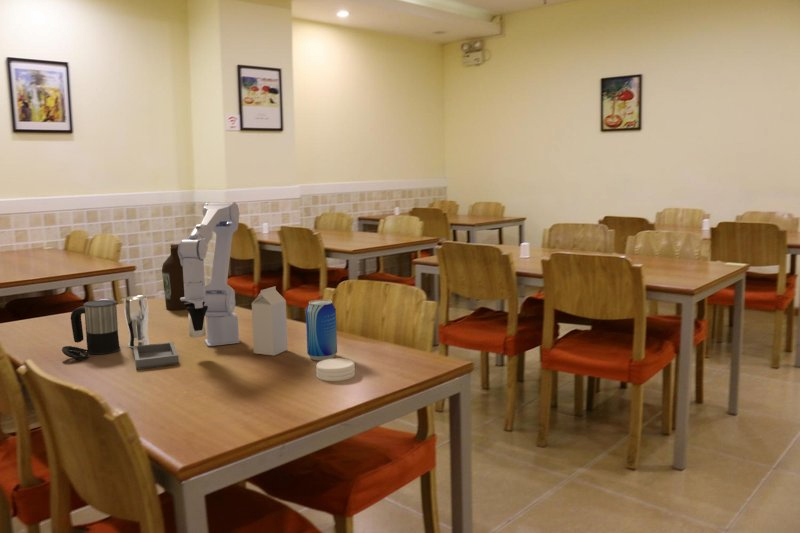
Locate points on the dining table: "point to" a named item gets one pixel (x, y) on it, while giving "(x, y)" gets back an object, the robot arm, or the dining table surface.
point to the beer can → (321, 330)
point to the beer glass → (137, 319)
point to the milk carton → (269, 323)
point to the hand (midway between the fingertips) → (197, 328)
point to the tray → (155, 355)
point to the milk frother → (95, 329)
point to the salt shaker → (192, 332)
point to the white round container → (335, 369)
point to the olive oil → (173, 280)
